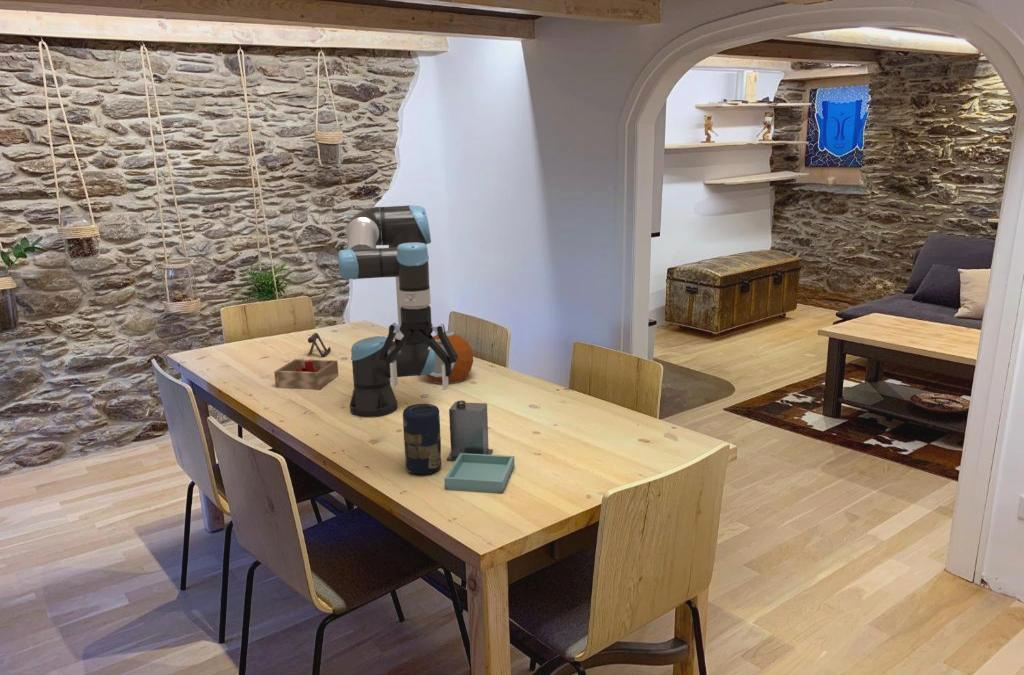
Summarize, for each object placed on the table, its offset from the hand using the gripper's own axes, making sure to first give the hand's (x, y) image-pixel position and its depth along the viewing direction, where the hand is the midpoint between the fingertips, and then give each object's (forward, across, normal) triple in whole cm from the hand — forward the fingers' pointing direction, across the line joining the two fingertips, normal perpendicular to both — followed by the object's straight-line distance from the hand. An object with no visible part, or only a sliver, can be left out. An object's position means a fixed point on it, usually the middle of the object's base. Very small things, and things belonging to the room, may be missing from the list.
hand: (420, 387), depth 190 cm
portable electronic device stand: (+22, -77, +102) cm, 130 cm away
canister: (+23, 0, 0) cm, 23 cm away
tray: (+23, +16, -3) cm, 28 cm away
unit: (+22, +10, +10) cm, 27 cm away
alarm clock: (+22, -15, +77) cm, 82 cm away
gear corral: (+22, -65, +67) cm, 96 cm away
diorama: (+23, -63, +68) cm, 96 cm away
